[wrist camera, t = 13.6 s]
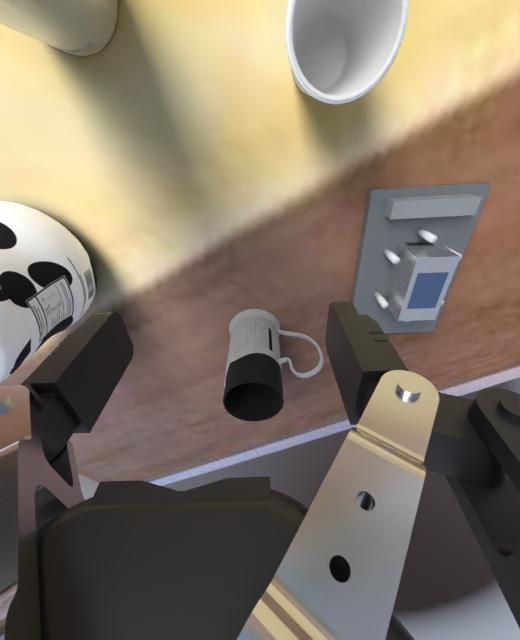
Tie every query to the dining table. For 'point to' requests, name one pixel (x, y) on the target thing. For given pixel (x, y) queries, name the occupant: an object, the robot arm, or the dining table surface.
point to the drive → (419, 280)
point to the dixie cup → (343, 45)
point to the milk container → (38, 282)
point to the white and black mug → (257, 366)
